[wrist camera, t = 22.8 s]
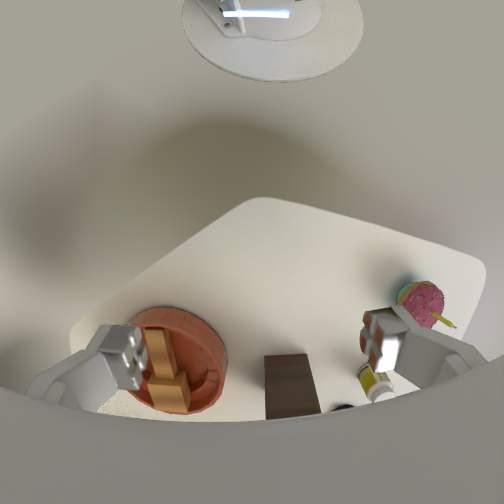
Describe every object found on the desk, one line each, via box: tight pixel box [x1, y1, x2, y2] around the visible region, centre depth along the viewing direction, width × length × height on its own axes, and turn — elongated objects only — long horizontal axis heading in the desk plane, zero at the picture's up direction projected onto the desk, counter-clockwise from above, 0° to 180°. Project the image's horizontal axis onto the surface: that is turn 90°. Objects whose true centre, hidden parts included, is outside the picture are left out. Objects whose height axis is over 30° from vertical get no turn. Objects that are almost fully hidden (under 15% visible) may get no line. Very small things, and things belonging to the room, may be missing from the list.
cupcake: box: [397, 281, 457, 328], centre depth 36 cm, size 9×8×12 cm
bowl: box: [126, 308, 228, 415], centre depth 42 cm, size 18×18×6 cm
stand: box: [264, 354, 321, 420], centre depth 33 cm, size 8×7×26 cm
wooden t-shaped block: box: [144, 327, 192, 413], centre depth 40 cm, size 15×6×4 cm, turn 3°
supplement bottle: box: [358, 363, 396, 403], centre depth 41 cm, size 5×5×8 cm
